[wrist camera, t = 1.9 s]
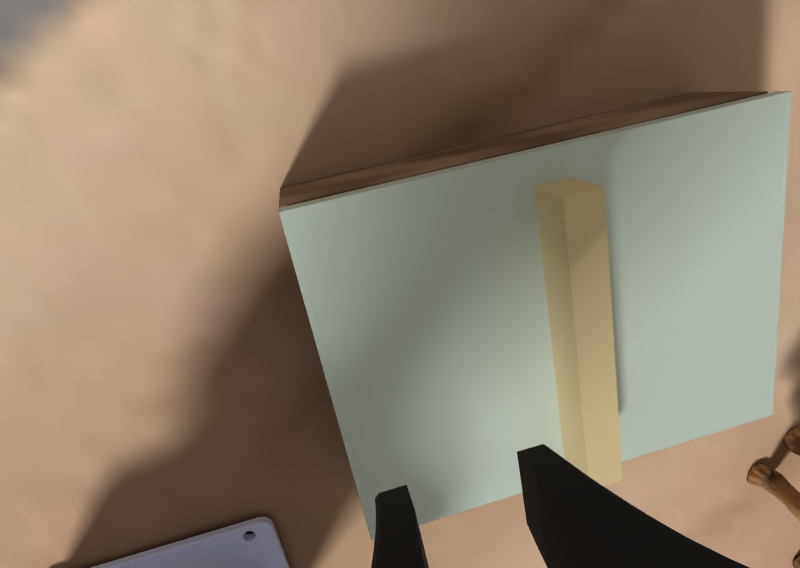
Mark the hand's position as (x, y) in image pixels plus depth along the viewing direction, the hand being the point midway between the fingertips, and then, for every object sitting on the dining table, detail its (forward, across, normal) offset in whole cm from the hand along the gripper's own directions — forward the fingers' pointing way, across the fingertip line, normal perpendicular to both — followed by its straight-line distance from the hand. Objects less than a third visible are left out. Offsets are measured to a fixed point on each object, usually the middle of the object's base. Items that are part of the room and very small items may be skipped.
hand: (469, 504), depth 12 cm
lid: (+7, -5, 0) cm, 9 cm away
